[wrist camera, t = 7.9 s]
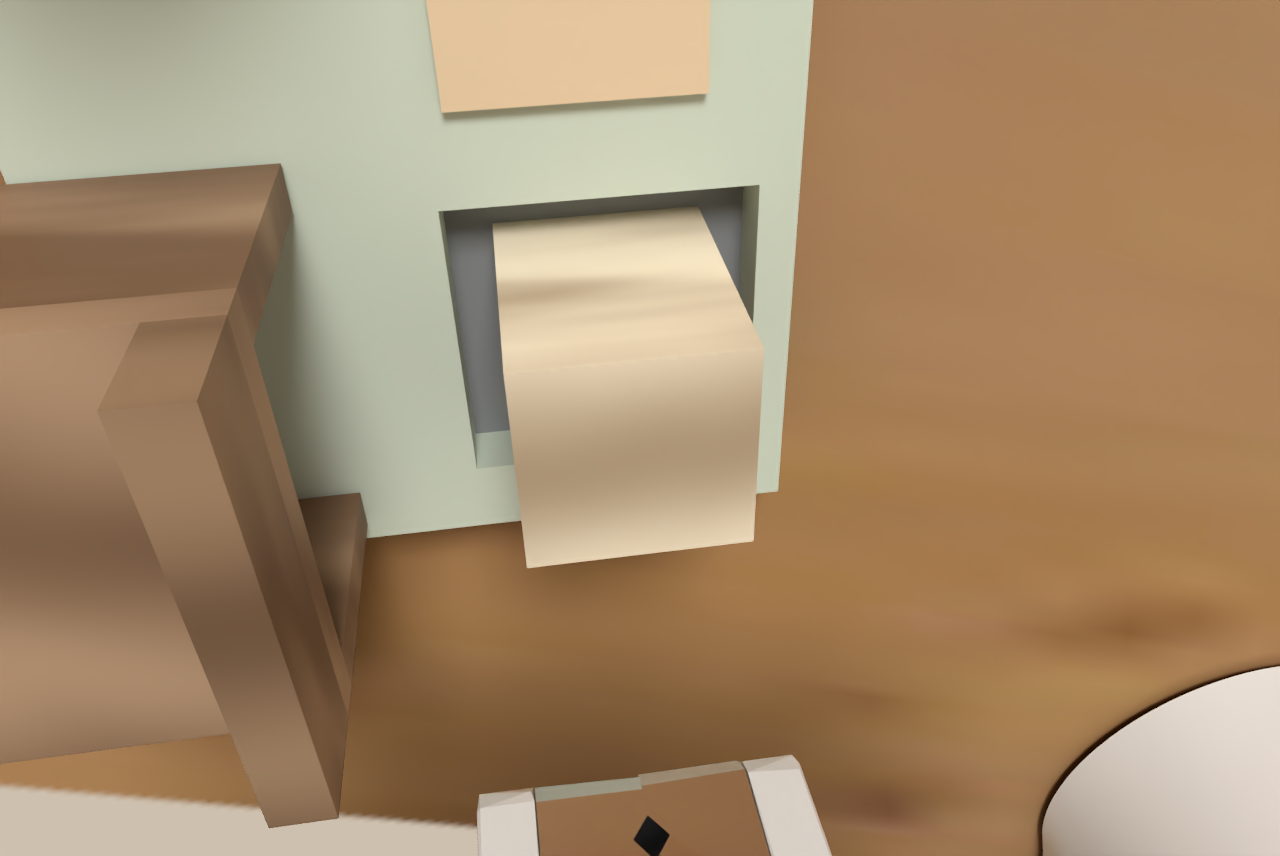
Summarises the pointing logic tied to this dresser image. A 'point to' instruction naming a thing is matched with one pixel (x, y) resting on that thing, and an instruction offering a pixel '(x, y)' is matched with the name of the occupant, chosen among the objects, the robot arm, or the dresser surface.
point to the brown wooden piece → (163, 490)
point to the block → (627, 385)
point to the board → (428, 187)
